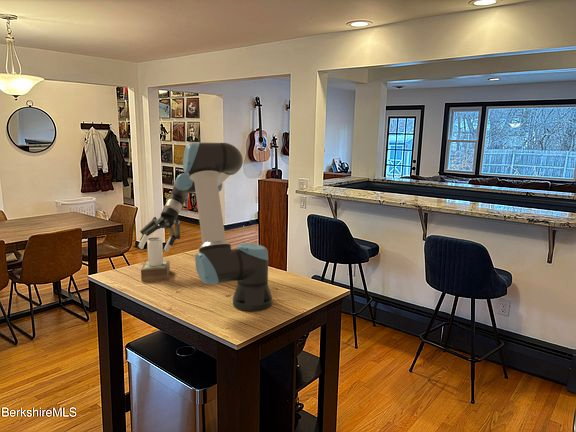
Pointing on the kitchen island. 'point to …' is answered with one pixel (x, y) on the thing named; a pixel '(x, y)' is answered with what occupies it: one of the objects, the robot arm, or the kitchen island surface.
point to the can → (155, 251)
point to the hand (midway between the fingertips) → (152, 249)
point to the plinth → (155, 271)
